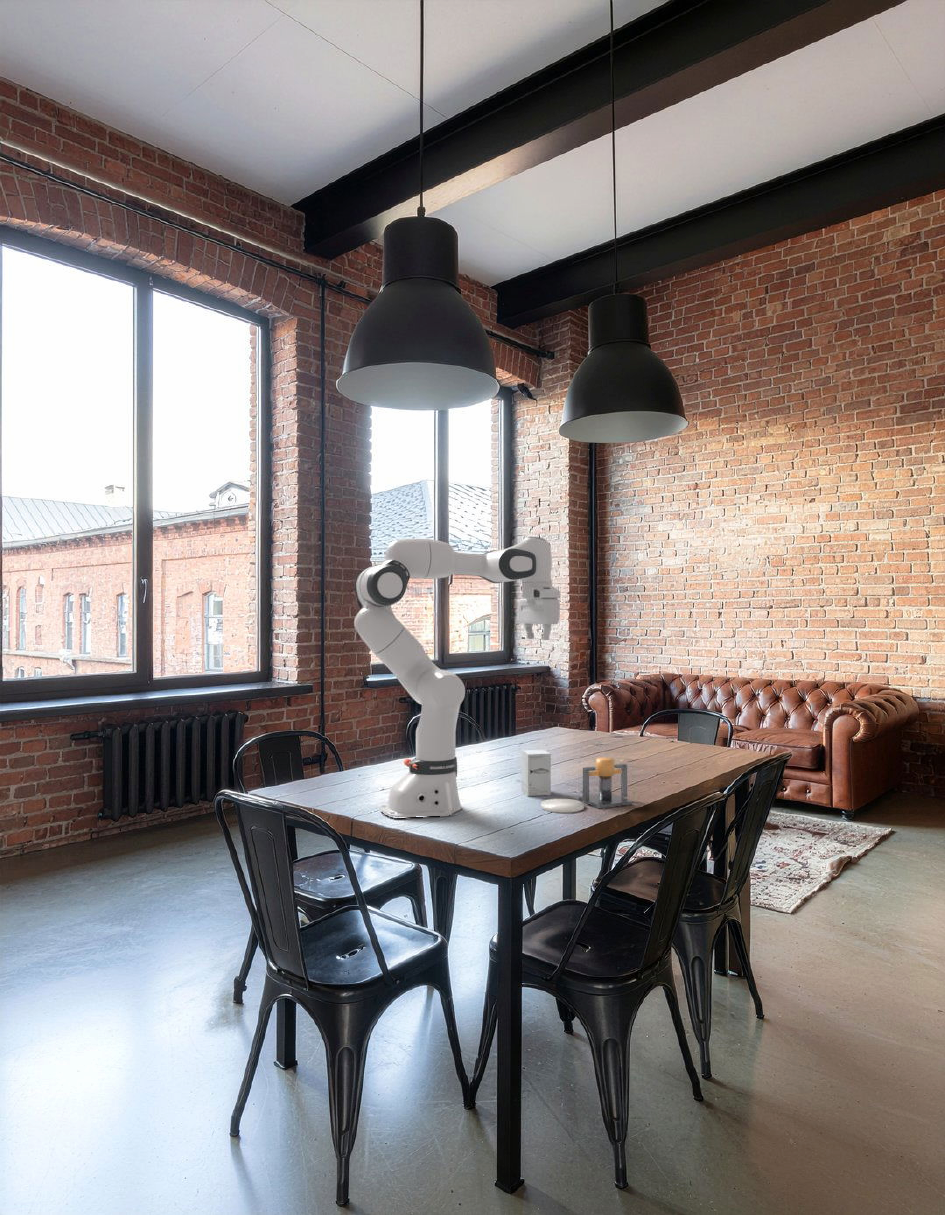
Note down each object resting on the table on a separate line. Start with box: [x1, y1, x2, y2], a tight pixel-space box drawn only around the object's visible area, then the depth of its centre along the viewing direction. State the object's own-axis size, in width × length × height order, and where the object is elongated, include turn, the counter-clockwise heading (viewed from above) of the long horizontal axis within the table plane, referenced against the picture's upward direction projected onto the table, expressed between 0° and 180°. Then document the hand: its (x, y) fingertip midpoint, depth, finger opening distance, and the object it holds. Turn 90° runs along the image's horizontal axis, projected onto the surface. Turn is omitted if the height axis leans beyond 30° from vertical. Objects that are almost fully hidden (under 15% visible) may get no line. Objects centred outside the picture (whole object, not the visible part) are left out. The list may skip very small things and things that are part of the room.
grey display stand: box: [578, 763, 634, 809], centre depth 225 cm, size 14×11×10 cm
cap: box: [589, 757, 622, 777], centre depth 225 cm, size 10×5×4 cm, turn 113°
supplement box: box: [521, 749, 552, 797], centre depth 236 cm, size 7×7×13 cm
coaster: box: [540, 798, 585, 814], centre depth 219 cm, size 12×12×1 cm
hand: (537, 639), depth 230 cm, fingers open, 8 cm apart
